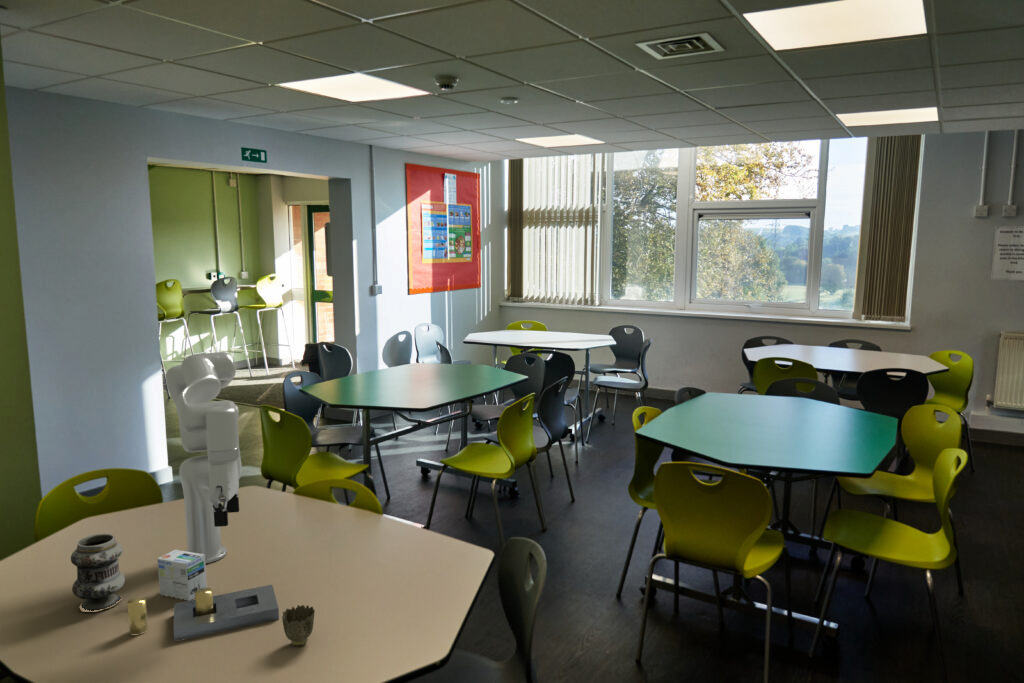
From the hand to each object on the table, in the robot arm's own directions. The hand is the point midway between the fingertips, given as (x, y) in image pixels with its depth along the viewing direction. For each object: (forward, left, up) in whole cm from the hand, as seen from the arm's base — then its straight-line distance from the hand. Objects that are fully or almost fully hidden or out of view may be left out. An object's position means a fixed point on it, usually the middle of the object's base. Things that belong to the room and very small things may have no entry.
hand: (227, 518), depth 177 cm
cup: (+25, +13, -25) cm, 38 cm away
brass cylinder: (+2, -22, -24) cm, 33 cm away
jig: (+4, -2, -24) cm, 25 cm away
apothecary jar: (-18, -32, -25) cm, 44 cm away
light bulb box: (-15, -12, -25) cm, 31 cm away
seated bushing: (+4, -7, -24) cm, 26 cm away
